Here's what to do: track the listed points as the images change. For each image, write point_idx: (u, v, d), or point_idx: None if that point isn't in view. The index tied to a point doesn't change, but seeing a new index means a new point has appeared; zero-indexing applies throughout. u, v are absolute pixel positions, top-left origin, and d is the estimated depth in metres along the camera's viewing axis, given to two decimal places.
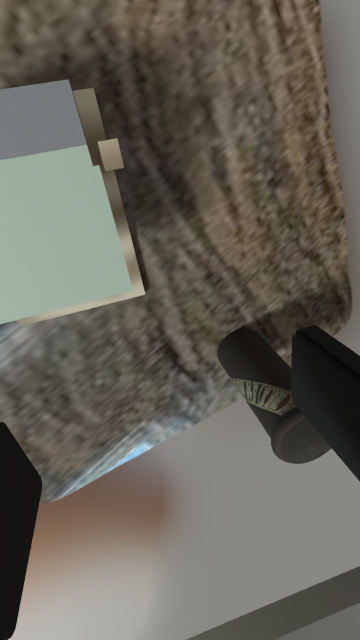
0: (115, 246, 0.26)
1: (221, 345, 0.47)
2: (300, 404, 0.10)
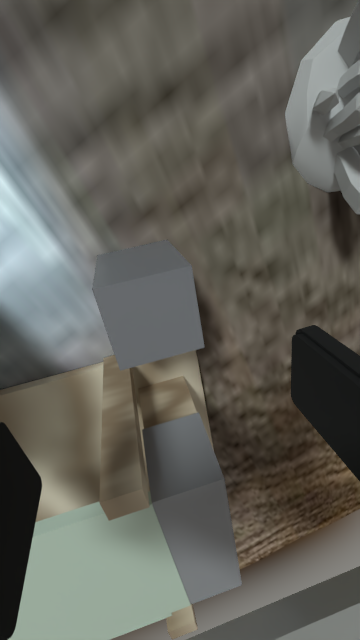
0: None
1: None
2: (300, 404, 0.10)
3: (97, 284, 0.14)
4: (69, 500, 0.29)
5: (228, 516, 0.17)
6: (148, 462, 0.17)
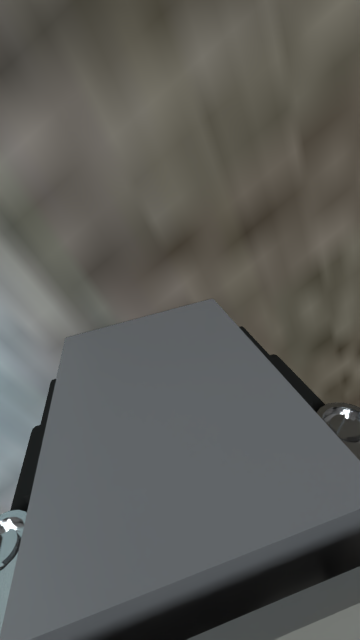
0: None
1: None
2: None
3: (29, 580, 0.04)
4: None
5: None
6: None
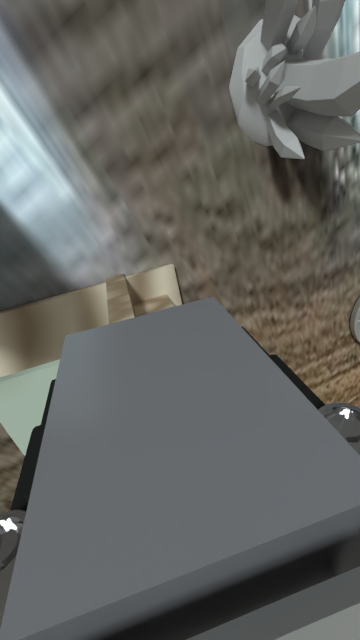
0: None
1: None
2: None
3: (29, 576, 0.04)
4: None
5: None
6: None
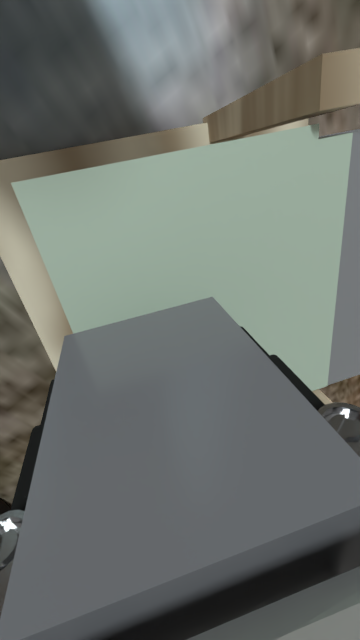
0: None
1: None
2: None
3: (27, 577, 0.04)
4: None
5: None
6: None
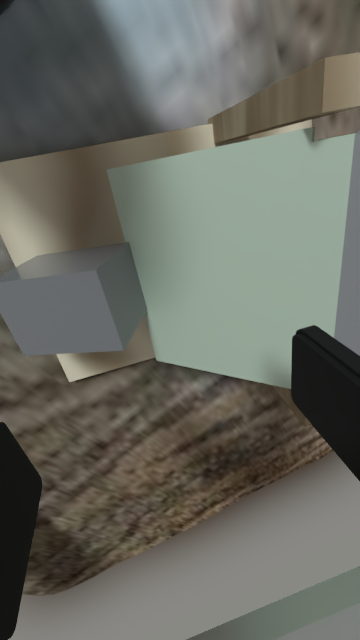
0: (206, 365, 0.21)
1: None
2: (300, 404, 0.10)
3: (42, 255, 0.20)
4: (147, 331, 0.25)
5: None
6: None
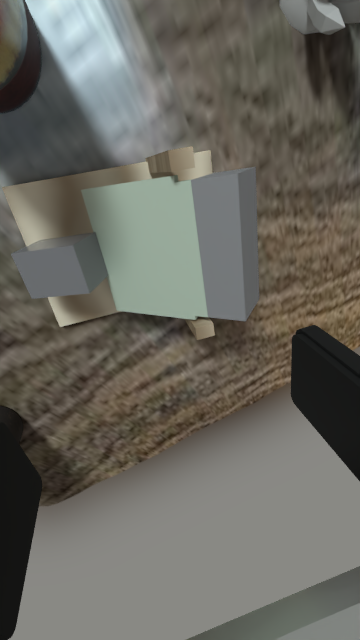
0: (145, 310, 0.34)
1: None
2: (300, 404, 0.10)
3: None
4: None
5: (239, 222, 0.24)
6: (203, 176, 0.25)
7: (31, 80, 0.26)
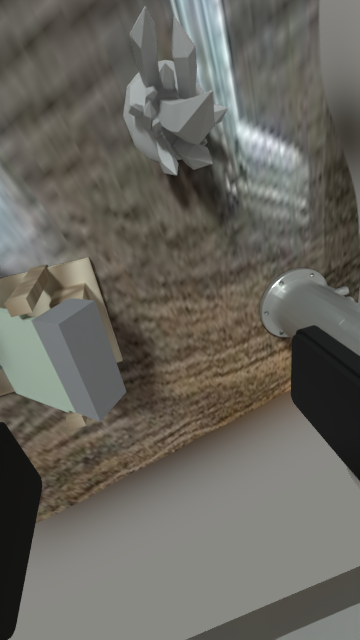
0: (34, 397, 0.39)
1: None
2: (300, 404, 0.10)
3: None
4: None
5: (70, 355, 0.29)
6: (51, 309, 0.30)
7: None
